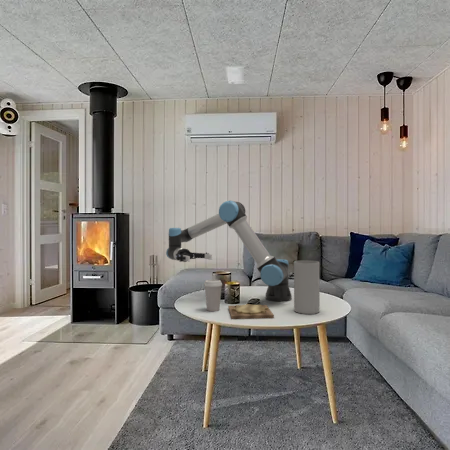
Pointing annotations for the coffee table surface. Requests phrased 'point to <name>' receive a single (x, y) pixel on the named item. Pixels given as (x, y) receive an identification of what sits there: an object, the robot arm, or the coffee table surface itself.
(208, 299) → the coffee cup
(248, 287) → the coffee table surface
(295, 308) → the cylinder vase
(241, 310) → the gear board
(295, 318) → the coffee table surface
